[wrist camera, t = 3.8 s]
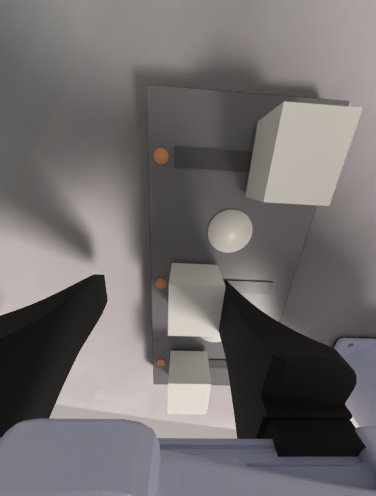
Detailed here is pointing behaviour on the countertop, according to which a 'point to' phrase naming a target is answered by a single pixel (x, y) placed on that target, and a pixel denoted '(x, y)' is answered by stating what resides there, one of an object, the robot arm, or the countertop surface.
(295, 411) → the robot arm
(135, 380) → the countertop surface
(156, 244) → the switch panel
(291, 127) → the switch
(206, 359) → the switch
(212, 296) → the switch
